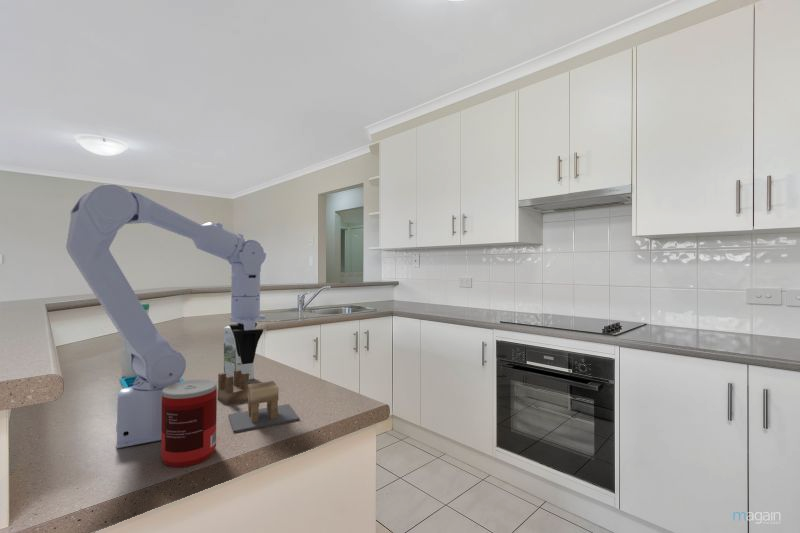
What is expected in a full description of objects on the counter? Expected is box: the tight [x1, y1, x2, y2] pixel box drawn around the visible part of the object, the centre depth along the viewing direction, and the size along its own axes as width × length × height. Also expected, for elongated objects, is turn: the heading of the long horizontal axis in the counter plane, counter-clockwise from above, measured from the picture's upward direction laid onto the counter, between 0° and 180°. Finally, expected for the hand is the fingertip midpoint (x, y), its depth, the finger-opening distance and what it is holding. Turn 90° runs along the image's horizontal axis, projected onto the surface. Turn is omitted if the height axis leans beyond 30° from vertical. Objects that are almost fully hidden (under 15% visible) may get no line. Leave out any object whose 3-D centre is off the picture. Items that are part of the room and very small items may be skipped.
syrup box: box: [223, 325, 255, 383], centre depth 102 cm, size 6×6×14 cm
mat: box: [227, 403, 301, 434], centre depth 75 cm, size 12×9×1 cm
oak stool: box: [247, 380, 279, 423], centre depth 75 cm, size 5×5×6 cm
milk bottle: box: [121, 302, 150, 378], centre depth 106 cm, size 8×8×20 cm
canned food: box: [160, 379, 218, 468], centre depth 60 cm, size 8×8×11 cm
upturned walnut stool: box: [217, 370, 250, 405], centre depth 86 cm, size 5×5×6 cm
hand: (245, 359), depth 80 cm, fingers open, 7 cm apart
